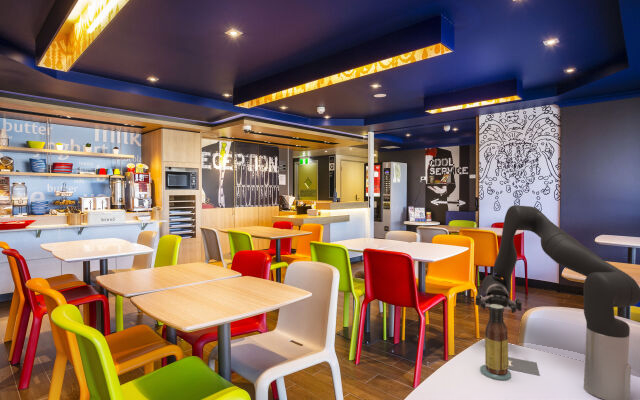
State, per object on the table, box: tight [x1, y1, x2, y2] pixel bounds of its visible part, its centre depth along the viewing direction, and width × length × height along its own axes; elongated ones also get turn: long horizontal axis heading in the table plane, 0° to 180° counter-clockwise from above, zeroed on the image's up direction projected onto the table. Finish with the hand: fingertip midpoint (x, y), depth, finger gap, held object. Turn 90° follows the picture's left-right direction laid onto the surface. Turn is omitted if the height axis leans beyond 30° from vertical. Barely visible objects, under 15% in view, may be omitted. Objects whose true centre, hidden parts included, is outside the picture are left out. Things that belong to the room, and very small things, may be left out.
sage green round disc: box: [479, 364, 512, 381], centre depth 109 cm, size 8×8×1 cm
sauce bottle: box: [484, 304, 509, 375], centre depth 109 cm, size 7×6×20 cm
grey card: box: [508, 356, 541, 377], centre depth 115 cm, size 14×9×1 cm, turn 65°
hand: (498, 308), depth 120 cm, fingers open, 8 cm apart
